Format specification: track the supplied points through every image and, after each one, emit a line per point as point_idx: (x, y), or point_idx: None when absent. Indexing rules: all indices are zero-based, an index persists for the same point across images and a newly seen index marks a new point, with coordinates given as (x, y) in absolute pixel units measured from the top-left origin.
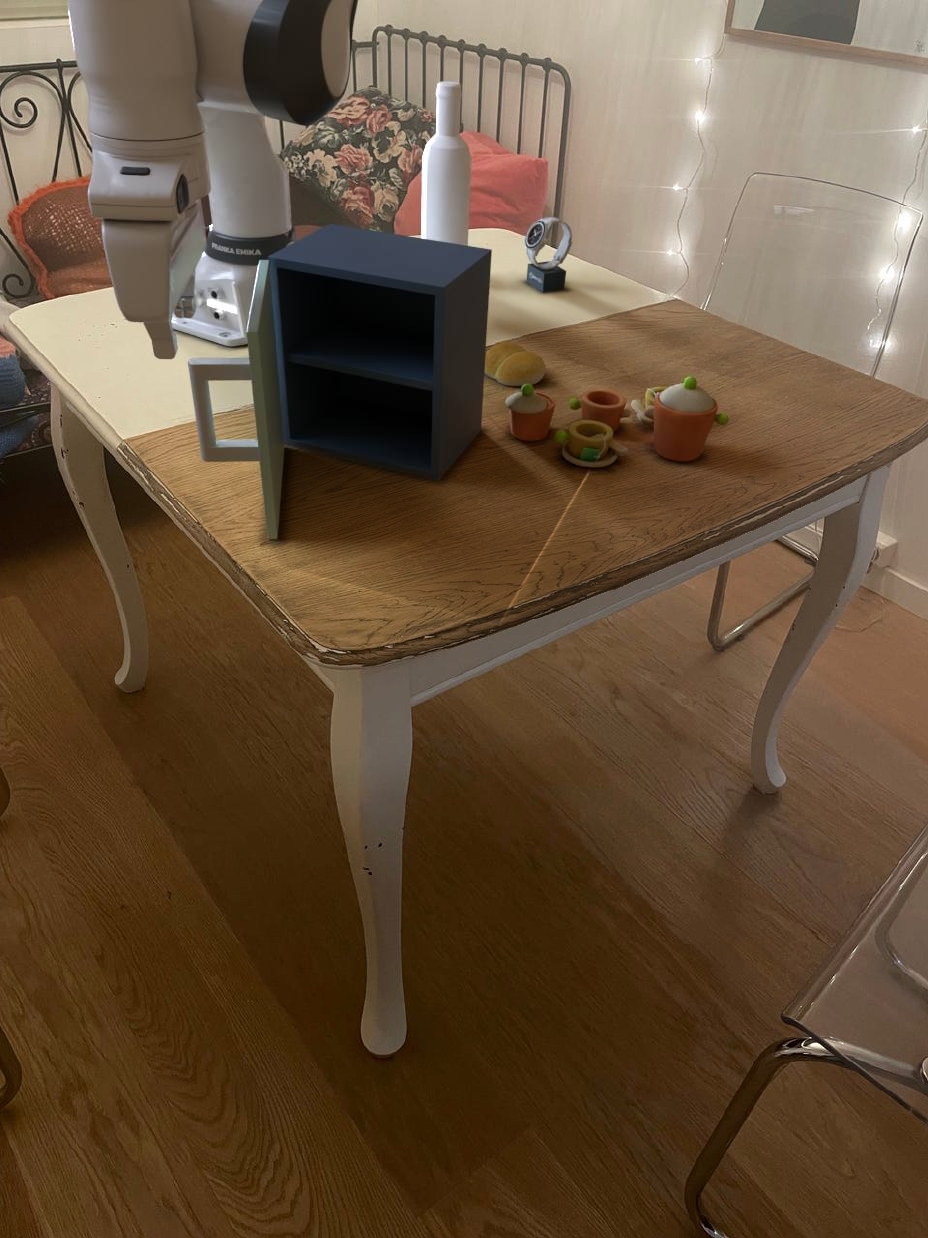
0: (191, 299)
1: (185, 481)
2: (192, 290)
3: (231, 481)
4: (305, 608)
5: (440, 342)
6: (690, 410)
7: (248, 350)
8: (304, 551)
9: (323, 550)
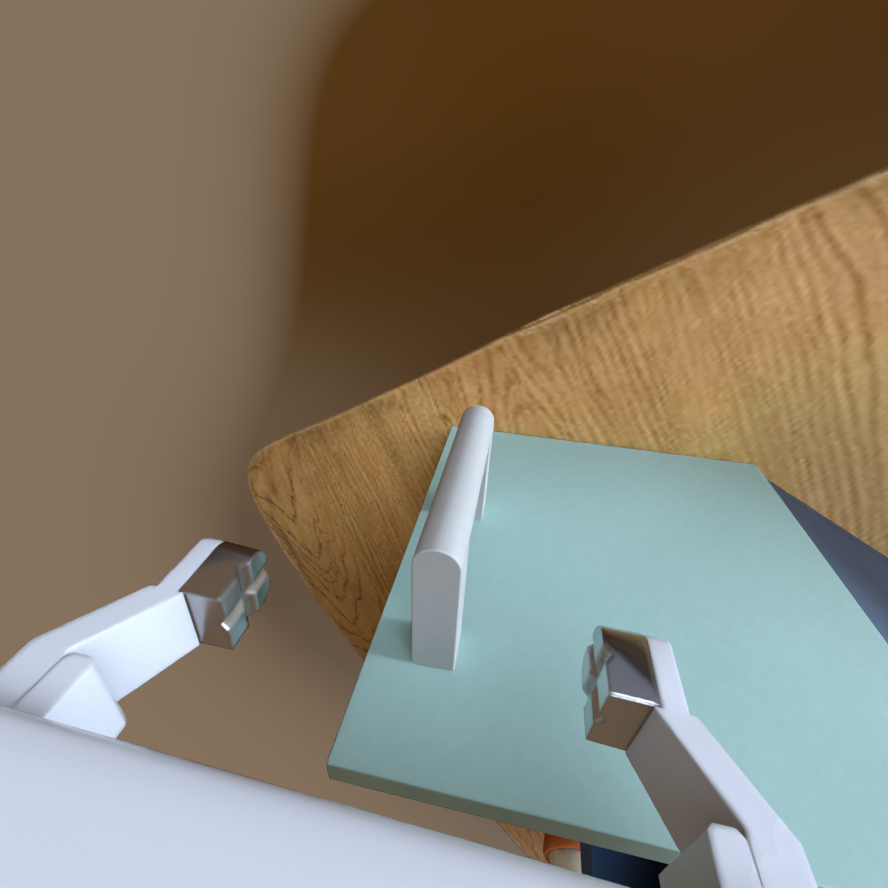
0: (591, 739)
1: (679, 302)
2: (640, 779)
3: (651, 384)
4: (307, 450)
5: (583, 856)
6: (550, 855)
7: (347, 707)
8: (423, 464)
9: (424, 484)
